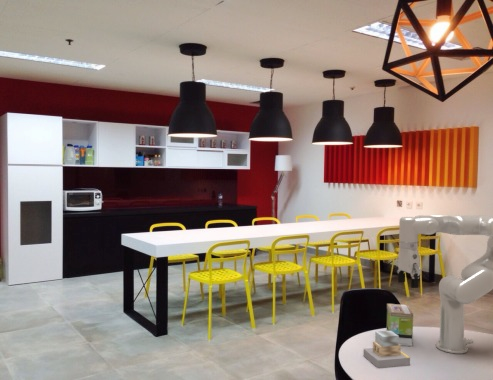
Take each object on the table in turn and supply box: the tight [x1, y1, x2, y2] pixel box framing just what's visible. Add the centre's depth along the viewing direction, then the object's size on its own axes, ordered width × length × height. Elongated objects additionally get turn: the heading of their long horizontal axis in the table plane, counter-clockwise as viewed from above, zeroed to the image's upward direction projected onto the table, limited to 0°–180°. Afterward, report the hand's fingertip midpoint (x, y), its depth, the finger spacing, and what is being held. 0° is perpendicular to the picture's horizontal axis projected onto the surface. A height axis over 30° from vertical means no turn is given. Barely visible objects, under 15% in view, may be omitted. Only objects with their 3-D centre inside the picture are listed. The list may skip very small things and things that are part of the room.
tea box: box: [385, 303, 414, 347], centre depth 203 cm, size 15×10×15 cm, turn 168°
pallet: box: [372, 330, 402, 357], centre depth 179 cm, size 9×6×8 cm, turn 102°
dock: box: [362, 347, 411, 369], centre depth 180 cm, size 14×12×3 cm
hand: (407, 284), depth 191 cm, fingers open, 9 cm apart
